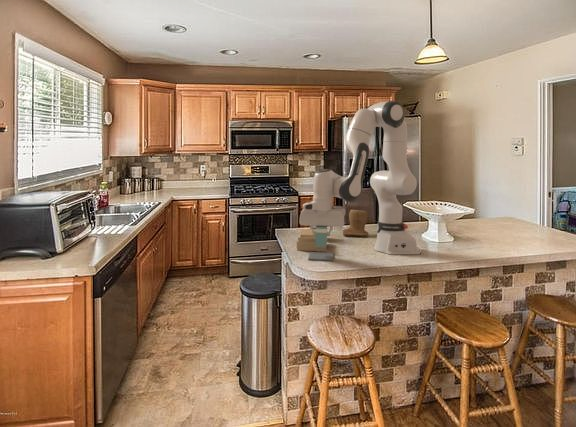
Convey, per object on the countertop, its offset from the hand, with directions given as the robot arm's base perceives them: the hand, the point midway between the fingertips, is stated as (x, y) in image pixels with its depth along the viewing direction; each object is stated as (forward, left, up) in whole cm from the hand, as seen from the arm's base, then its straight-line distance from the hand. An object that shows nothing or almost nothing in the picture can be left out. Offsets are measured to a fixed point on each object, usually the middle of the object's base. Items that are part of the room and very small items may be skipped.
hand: (321, 235), depth 177 cm
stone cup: (-18, -49, -11) cm, 53 cm away
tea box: (0, 0, -5) cm, 5 cm away
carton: (+5, -18, -10) cm, 21 cm away
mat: (0, 0, -10) cm, 10 cm away
